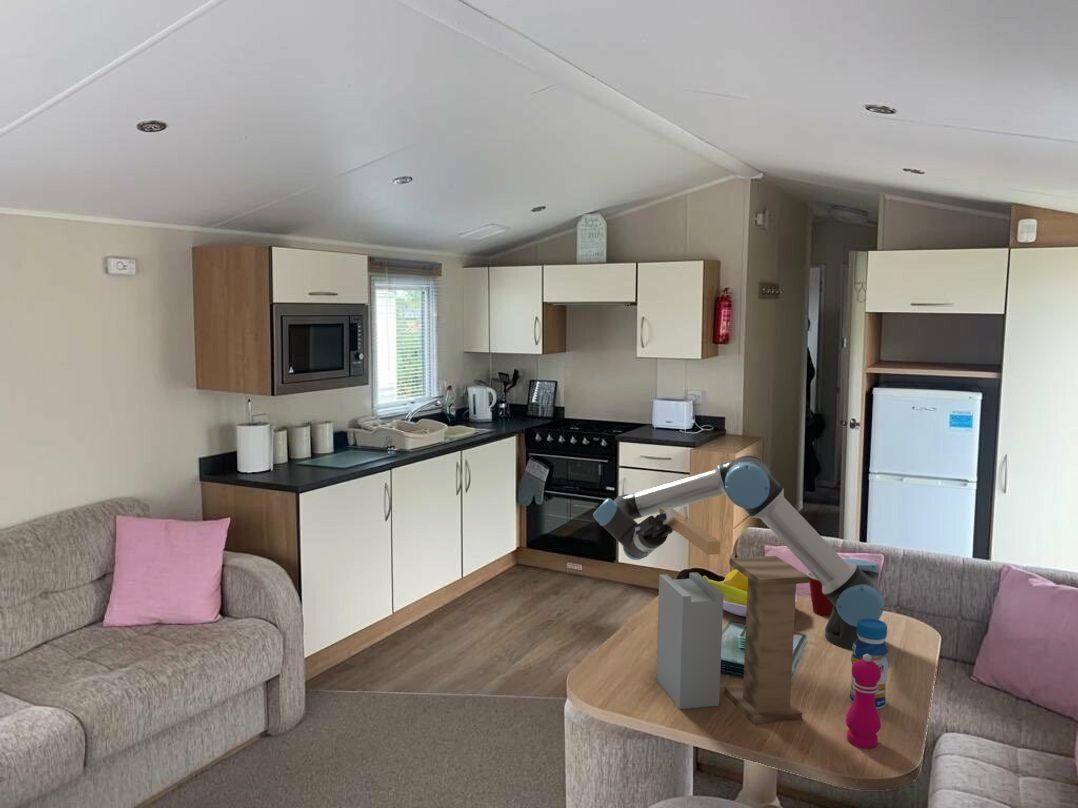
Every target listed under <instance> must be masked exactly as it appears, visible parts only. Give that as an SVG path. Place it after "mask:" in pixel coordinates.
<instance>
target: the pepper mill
mask: <svg viewBox="0 0 1078 808" xmlns="http://www.w3.org/2000/svg"><path fill="white" fill-rule="evenodd" d="M871 659H872V658H871V656H870V655H869V654H865V655H863V659H862V660H858V661H856V662H855V663H854V664H853V666H852V665H851V671H852V675H853V677H854V679H855V680H854V681H853V683H854V685H853V687H854V689H855V698H854V701H853V703H852V702H851V705H850V707H849V708H848V710H847V713H846V716H845V723H846V726H847V728H848V729H847V732H846V740H847V741H848V743H850V744H851V745H853V746H855V747H857V748H862V749H872V748H873V749H874V748H875V747H876V746H877V745H878V738H879V735H878V733H879V731H880V730H881V728H882V725H881V724H882V721H881V717H880V714H879V712H878V711H879V710H878V709H876V706H875V692H877V691H878V689H877V687H878V684H877V682H878V681H879V680H880V678H881V670H880V668H879V666H878V665H877V664H876V663H875V662H873V661H871Z"/></svg>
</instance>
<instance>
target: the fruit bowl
mask: <svg viewBox="0 0 1078 808" xmlns="http://www.w3.org/2000/svg"><path fill="white" fill-rule="evenodd" d="M702 577H703V578H705V579H706V580H707V581H708V582H710V583H711V584H712V585H713V586H714V587H716V588H717V589H718V590H719V591H721V592H722V593H723V611H727V612H728V613H731V614H732V615H736V616H741V617H745V618H746V611H747V588H748V577H746V576H745V575H744V574H742V573H741V572H739V571H738V570H737V569H735V568H733V569H732V570H731V571H730V572H728V573H727V574H726V575H725V577H724V580H722V581H719V582H718V581H716V580H713V579H709V577H707V576H706V575H703V576H702ZM796 603H797V596H796V599H795V604H796Z"/></svg>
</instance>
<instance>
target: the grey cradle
mask: <svg viewBox="0 0 1078 808" xmlns="http://www.w3.org/2000/svg"><path fill="white" fill-rule="evenodd" d="M658 575H659V578H658V606H657V607H658V608H657V610H658V611H657V612H658V613H657V636H656V637H657V643H656V669H655V670H656V672H655V681H657V683H658V684H659V685H660V687H661V688H662V689H663V690H664V692H665V693H666V694H667V695H668V697H669V698H670V699H671V701H672V702H673V703H674V705H675V706H676V707H677V708H678V710H684V709H685V710H686V709H687V710H688V709H697V708H707V707H716V706H718V707H719V706H720V696H721V695H720V692H721V691H720V688H721V667H722V665H721V664H722V645H723V644H722V643H723V642H722V639H723V638H722V637H723V617H724V616H723V615H724V609H723V593H722V592H721V591H719V590H718V589H717V588H716V587H714V586H713V585H712V584H711V583H710V582H708V581H707V580H706V579H705V578H703V576H702V575H701V574H700V573H698V572H697V571H696V572H689V576H688V577H689V578H681V579H679V578H678V579H677V578H675V579H673V578H672V577H671V576H670V575H668V574H667V573H665V574H663V573H662V574H658Z"/></svg>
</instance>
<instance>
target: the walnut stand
mask: <svg viewBox="0 0 1078 808" xmlns="http://www.w3.org/2000/svg"><path fill="white" fill-rule="evenodd" d="M728 563H729V566H730V567H732V568H733V569H737V570H738V571H739V572H741V573H742V574H744V575H745V576H746V577H748V588H747V611H746V617H745V637H744V638H745V639H744V641H745V642H744V660H743V661H744V662H743V663H744V665H743V680H742V681H743V685H730V686H724V690H723V693H724V694H725V695H726V696H727V698H729V700H731V702H732V703H733V704H734V705H735V706H736V707H737V709H739V711H741V712H742V713H743V715H744V716H745V717H746V718H748V720H749V721H750V722H751V723H752V724H753V725H759V724H768V723H779V722H787V721H788V722H789V721H798V720H802V719H803V713H802V711H801V710H800V709H798V708H797V707H796V705H794V704H793V703H792V702H791V699H792V698H791V697H792V696H791V694H792V675H793V674H792V673H793V654H794V634H795V633H794V632H795V616H796V611H795V610H796V603H795V599H796V597H797V585H798V584H801V585H802V584H809V576H808V575H807V573H804V572H803V571H802V570H800V569H798V568H796V567H795V566H793V565H791V564H790V563H788V562H787V561H785V560H784V559H782V558H781V557H778V556H777V555H768V556H767V555H765V556H748V557H747V556H746V557H744V556H743V557H731V558H729V562H728Z"/></svg>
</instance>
